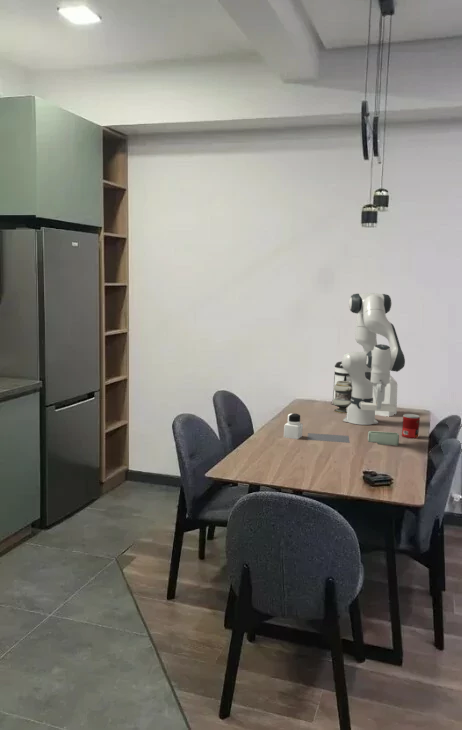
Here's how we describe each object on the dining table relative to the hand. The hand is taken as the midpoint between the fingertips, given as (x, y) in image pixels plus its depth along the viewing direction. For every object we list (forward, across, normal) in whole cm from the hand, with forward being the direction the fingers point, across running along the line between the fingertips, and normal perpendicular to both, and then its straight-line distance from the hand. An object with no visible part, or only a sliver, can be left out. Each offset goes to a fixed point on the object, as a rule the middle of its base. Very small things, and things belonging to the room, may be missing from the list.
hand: (378, 407), depth 303 cm
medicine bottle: (+17, -4, +40) cm, 43 cm away
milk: (+17, +74, -9) cm, 77 cm away
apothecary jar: (+17, +73, +15) cm, 76 cm away
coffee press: (+17, +94, +13) cm, 96 cm away
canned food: (+17, +18, -18) cm, 31 cm away
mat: (+17, 0, +23) cm, 28 cm away
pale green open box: (+17, 0, -3) cm, 17 cm away
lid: (+1, 0, 0) cm, 1 cm away
